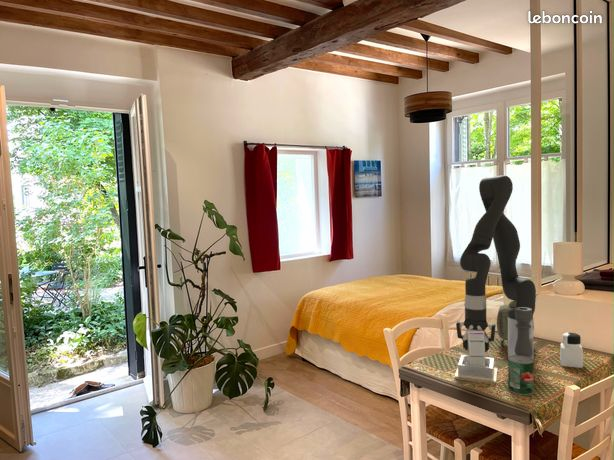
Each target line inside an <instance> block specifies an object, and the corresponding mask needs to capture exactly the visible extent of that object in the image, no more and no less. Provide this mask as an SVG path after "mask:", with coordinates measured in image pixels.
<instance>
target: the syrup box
mask: <svg viewBox="0 0 614 460" xmlns="http://www.w3.org/2000/svg"><path fill="white" fill-rule="evenodd" d="M466 352H467V357H468V365H474V366H483V367H485V357H486V352H485V337H484V331H480V330H469V331H468V337H467V350H466Z"/></svg>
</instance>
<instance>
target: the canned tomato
mask: <svg viewBox="0 0 614 460" xmlns="http://www.w3.org/2000/svg"><path fill="white" fill-rule="evenodd" d="M507 363H508V365H507V366H508V367H507V371H508V372H507V375H508V376H507V377H508V378H507V379H508V382H507V383H508V384H507V385H508V388H507V390H508V391H509V392H510V393H513V394H514V395H515V394H516V395H520V396H530V395H533V394H534V393H535V390H534V358H533V359H532V358H530V357H527V356H521V355H512V356H509V357H508V356H507Z"/></svg>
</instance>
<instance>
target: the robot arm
mask: <svg viewBox="0 0 614 460" xmlns="http://www.w3.org/2000/svg"><path fill="white" fill-rule="evenodd" d="M478 184H479V185H478V187H479V188H478V190H479V195H480V198H481V201H482V205H483V206H484V210H485V213H484V214H483V215H482V216H481V217H480V218H479V220H478V221H477V223H476V225H475V226H474V229H473V234H472V237H471V239H470V241H469V243H468V244H467V246H466V247H465V249H464V251H463V252H462V254H461V256H460V258H459V259H460V260H459V264H460V268H461V270H463V271H465V272H471V273H472V272H473V273H476V274H475V277H469V278H467V279H466V280H465V283H464V287H465V295H464V320H463V321H460V320H459V321H457V322H456V323H455V326H456V335H457V338H458V339H461V340H462V348H463V350H464V351H467V337H468V331H469V330H480V331H484V337H485V353H488V352H489V350H490V342H494V341H495V337H496V336H495V334H496V328H497V324H495V323H488V321H487V296H486V284H487V280H488V275H489V272H490V269H491V268H490V267H491V259H490V257H489V255H488V254H486V253H482V251H486V250H489V248H491V245H492V242H493V244H494V247H495V252H496V255H497V261H498V265H499V270H500V277H501V286H502V291H503V293H504V295H505V297H506V298H507V297H508V298H510V299H513V300H512V301H514V300H516V307H515V308H517V307H526V308H531V309H532V319H531V321H530V323H529V324H530V325H531V328H530V329H529V338H530V342H531V346H532V350H533V351H534V330H533V322H534V313H535V311H536V302H537V301H536V299H537V297H536V296H537V291H536V285H535V282H534V281H532V280H531V279H527V278H523V277H520V276H519V275H518V270H517V262H516V261H517V259H518V256H519V253H520V250H521V241H520V237H519V231H518V230H517V228H516V226H515V225H514V224H513V222H512V221H511V220H510V219H509V218H508V217H507V216H506V215H505V214H504V211H505V209H506V206H507V204H508V202H509V200H510V198H511V197H512V194H513V190H514V188H513V186H514V185H513V181H512V180H511V178H510V177H509V176H507V175H496V176H489V177H484V178H482V179H481V180H480V182H479V183H478ZM480 252H481V253H480ZM508 298H507V299H508ZM510 299H509V300H510ZM515 308H512V309H509V310H508V340H507V358H508V357H509V356H512V355H516V354H515V351H514V349H515V345H516V341H517V337H518V329H517V327H516V324H517V323H518V322H517V320H516V318H515ZM463 326H464V327H465V328H466V331H465V333H464V334H462V328H463ZM487 328H488V329H489V331H490V337H489V336H488V334H487V332H486V329H487ZM530 358H532V359H533V360H534V353H533V354H532V356H531V357H530Z"/></svg>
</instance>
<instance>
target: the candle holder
mask: <svg viewBox="0 0 614 460" xmlns="http://www.w3.org/2000/svg"><path fill="white" fill-rule="evenodd" d="M515 318H516V320H517V322H518V323H517V324H516V327H517V329H518V337H517V341H516V345H515V349H514V351H515V354H516V355H521V356H527V357H531V356H532V354H533V355H534V349H533V350H532V346H531V342H530V338H529V329H530V328H531V325H530V324H529V323H530V321H531V319H532V309H531V308H526V307H517V308H515Z"/></svg>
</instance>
